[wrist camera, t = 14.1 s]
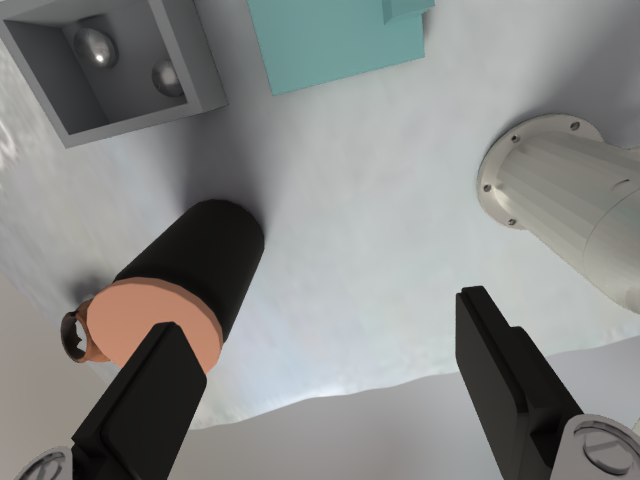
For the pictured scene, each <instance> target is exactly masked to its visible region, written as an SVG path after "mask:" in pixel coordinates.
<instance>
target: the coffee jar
mask: <svg viewBox="0 0 640 480" xmlns="http://www.w3.org/2000/svg"><path fill="white" fill-rule="evenodd" d="M263 251H264V235H263V232H262V230H261V227H260V224H259V223H258V222H257V220H256V219H255V218H254V217H253V215H252V214H251V213H250V212H248V211H247V210H246V209H244V208H243V207H242V206H240V205H238V204H235V203H232V202H230V201H227V200H214V199H211V200H207V201H203V202H199V203H197V204H196V205H194V206H193V207H191V208H190V209H188V210H187V211H186V212H185V213H184V214H183V215H182V216H181V217H180V218H179V219H178V220H176V221H175V222H174V223H173V224H172V225H171V226H170V227H169V228H168V229H167V230H166V231H164V232H163V233H162V234H161V235H160V236H159V237H158V238H157V239H156V240H155V241H154V242H153V243H151V244H150V245H149V246H148V247H147V248H146V249H145V250H144V251H143V252H142V253H141V254H139V255H138V256H137V257H136V258H135V259H134V260H133V261H132V262H131V263H130V264H129V265H127V266H126V267H125V268H124V269H123V270H122V271H121V272H120V273H119V274H118V275H117V276H116V278H115V279H114V281H113V283H112V284H111V285H109V286H108V287H106V288H105V289H103V290H102V291H100V292H99V293H98V294H96V296H95V297H94V299H93V300H92V302H91V304H90V305H89V307H88V309H87V327H88V329H89V332H90V335H91V337H92V340H93V341H94V342H95V344H96V345H97V346H98V348H99V349H100V350H101V351H102V353H103V354H104V355H105V356H107V357H108V358H109V359H110V360H112V361H113V362H114V363H115V364H117V365H118V366H119V367H121V368H123V367H124V365H125V364H126V362H127V361H128V360H129V358H130V357H131V356H132V354H133V353H134V351H135V350H136V349H137V347H138V346H139V345H140V343H141V342H142V340H143V339H144V338H145V336H146V335H147V334H148V332H149V331H150V330H151V328H152V327H153V326H154V325H155V324H156V323H161V322H170V321H173V322H175V323H176V324H177V325H179V326H180V327H181V328H182V330H183V332H184V334H185V336H186V338H187V340H188V342H189V344H190V346H191V347H192V349H193V351H194V353H195V355H196V357H197V359H198V361H199V363H200V365H201V367H202V369H203V371H204V373H205V374H207V373H208V372H209V371H210V370H211V369H212V368H213V367H214V366H215V365H216V364H217V361H218V358H219V355H220V352H221V350H222V346H223V344H224V343H225V341H226V340H227V338H228V336H229V333H230V331H231V329H232V326H233V324H234V321H235V319H236V317H237V314H238V312H239V310H240V307H241V305H242V302H243V300H244V298H245V295H246V293H247V291H248V288H249V286H250V283H251V281H252V279H253V276H254V274H255V271H256V269H257V267H258V264H259V262H260V260H261V257H262V254H263Z"/></svg>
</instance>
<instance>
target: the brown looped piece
mask: <svg viewBox="0 0 640 480" xmlns="http://www.w3.org/2000/svg"><path fill="white" fill-rule="evenodd" d="M92 300H93V299H90V300H89V301H86V302H84V303H83V304H82V305H80V306H79V307H78V308H77V309H76V310H75V311H74V312H68V313H67V314H66V315H65V316H64V318H63V320H62V324H61V340H62V344H63V346H64V349H65V351H66V353H67V355H68V356H69V357H70V358H71V359H72V360H73V361H75V362H77V363H83V362H86V361H87V360H90V361H94V362H106V361H111V360H110V359H109V358H108V357H107V356H105V355H104V354H103V353H102V351H101V350H100V349H99V348H98V346H97V345H96V344H95V342H94V341H93V340H92V337H91V335H90V332H89V329H88V327H87V309H88V307H89V305H90V304H91V302H92ZM77 320H78V321H79V322H80V323H81V324H82V327H83V329H84V331H85V334H86V337H87V349H86V352H84V351H83V350H81V349H78V348H77V345H78V344H79V342H80V341H82V339H81V338H79V337H78V335H77V333H76V325H75V323H76V321H77Z"/></svg>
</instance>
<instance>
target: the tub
mask: <svg viewBox="0 0 640 480" xmlns="http://www.w3.org/2000/svg"><path fill="white" fill-rule="evenodd" d="M82 28H89V29H95V30H101V31H104V32H106V33H107V34H109V35H110V36H111V37H112V38H113V40H114V41H115V43H116V44H117V47H118V50H119V60H118V62H117V64H116V65H115V66H114V67H112V68H92V67H90V66H88V65H86V64H85V63H84V62H83V61H82V60H81V59H80V58H79V57H78V55H77V53H76V51H75V48H74V36H75V34H76V32H77V31H78V30H80V29H82ZM0 37H1V39H2V41H3V43H4V44H5V46H6V48H7V49H8V51H9V53H10V54H11V56H12V58H13V60H14V61H15V63H16V65H17V66H18V68H19V70H20V71H21V73H22V75H23V77H24V78H25V80H26V82H27V83H28V85H29V87H30V88H31V90H32V92H33V94H34V95H35V97H36V99H37V100H38V102H39V104H40V105H41V107H42V109H43V111H44V112H45V114H46V116H47V117H48V119H49V121H50V122H51V124H52V126H53V128H54V129H55V131H56V133H57V134H58V136H59V138H60V139H61V141H62V143H63V145H64V146H65V148H66V149H67V148H71V147H74V146H78V145H82V144H86V143H90V142H94V141H97V140H101V139H105V138H109V137H113V136H116V135H120V134H124V133H128V132H132V131H135V130H139V129H143V128H147V127H151V126H154V125H158V124H162V123H166V122H170V121H173V120H177V119H181V118H185V117H189V116H192V115H196V114H200V113H204V112H207V111H210V110H213V109H217V108H220V107H223V106H226V105H228V102H227V99H226V96H225V93H224V90H223V87H222V84H221V81H220V78H219V75H218V72H217V69H216V66H215V63H214V60H213V57H212V54H211V51H210V49H209V46H208V43H207V40H206V37H205V34H204V31H203V28H202V25H201V22H200V19H199V16H198V13H197V10H196V7H195V4H194V1H193V0H5V1H2V2H0ZM160 60H172V63H173V65H174V68H175V71H176V73H177V76H178V78H179V81H180V83H181V86H182V88H183V91H184V94H185V95H183V96H178V97H167V96H165V95H163V94H161V93H160V92H159V91H158V90H157V89H156V87H155V86H154V84H153V81H152V68H153V66H154V65H155V63H157V62H158V61H160Z"/></svg>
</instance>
